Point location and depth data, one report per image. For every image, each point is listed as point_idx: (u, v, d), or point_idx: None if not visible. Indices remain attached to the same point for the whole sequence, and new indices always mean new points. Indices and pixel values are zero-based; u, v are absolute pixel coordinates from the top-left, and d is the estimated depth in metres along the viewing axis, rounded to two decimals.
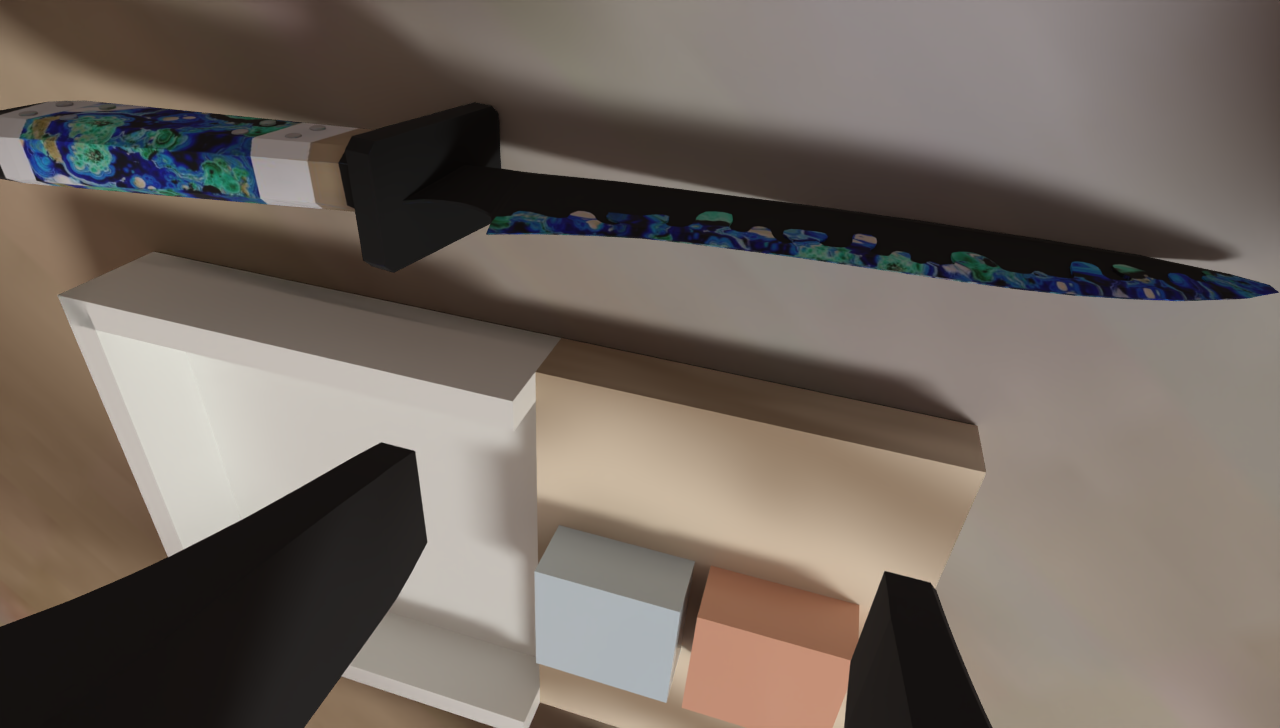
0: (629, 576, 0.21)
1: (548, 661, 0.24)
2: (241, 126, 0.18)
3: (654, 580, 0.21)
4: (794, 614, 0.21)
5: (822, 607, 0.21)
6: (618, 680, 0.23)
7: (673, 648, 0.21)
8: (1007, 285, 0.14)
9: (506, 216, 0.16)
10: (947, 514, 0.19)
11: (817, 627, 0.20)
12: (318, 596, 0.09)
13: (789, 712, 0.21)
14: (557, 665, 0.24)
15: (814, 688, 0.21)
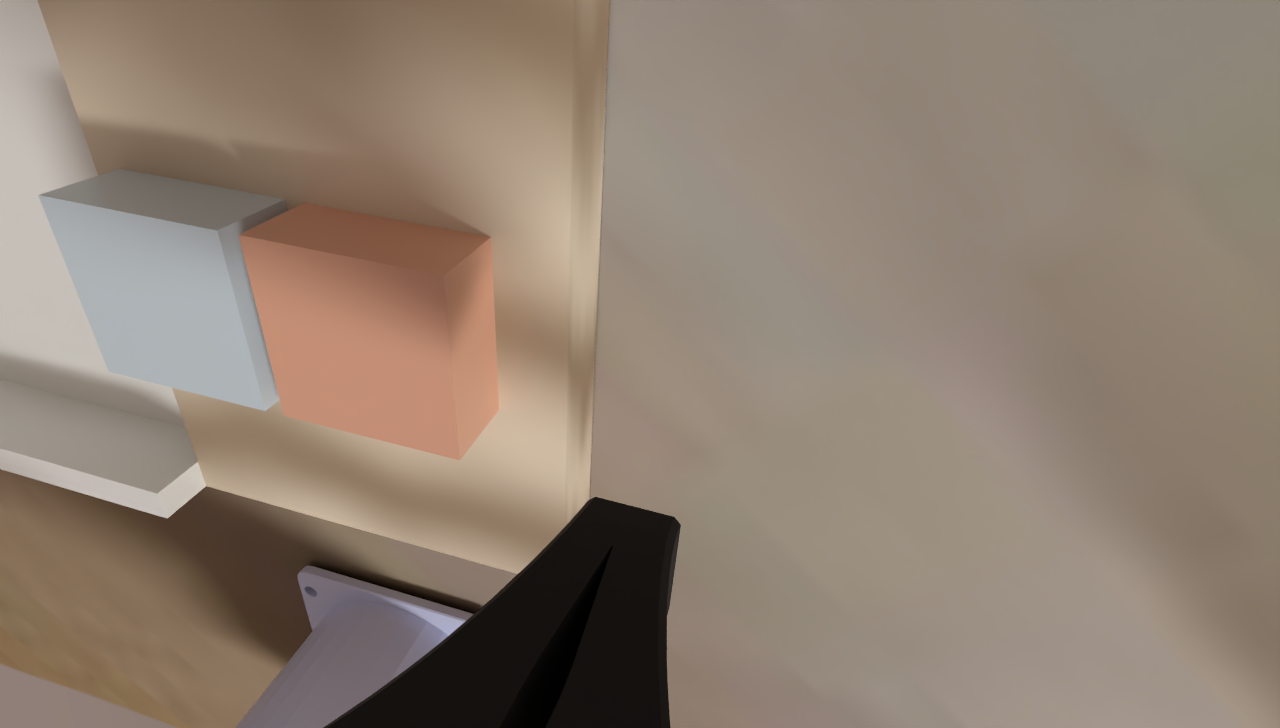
0: (174, 204, 0.15)
1: (119, 365, 0.17)
2: None
3: (207, 208, 0.15)
4: (387, 239, 0.14)
5: (433, 236, 0.15)
6: (202, 382, 0.17)
7: (235, 304, 0.15)
8: None
9: None
10: (549, 27, 0.12)
11: (410, 249, 0.14)
12: (567, 673, 0.09)
13: (399, 395, 0.15)
14: (130, 370, 0.17)
15: (412, 343, 0.14)
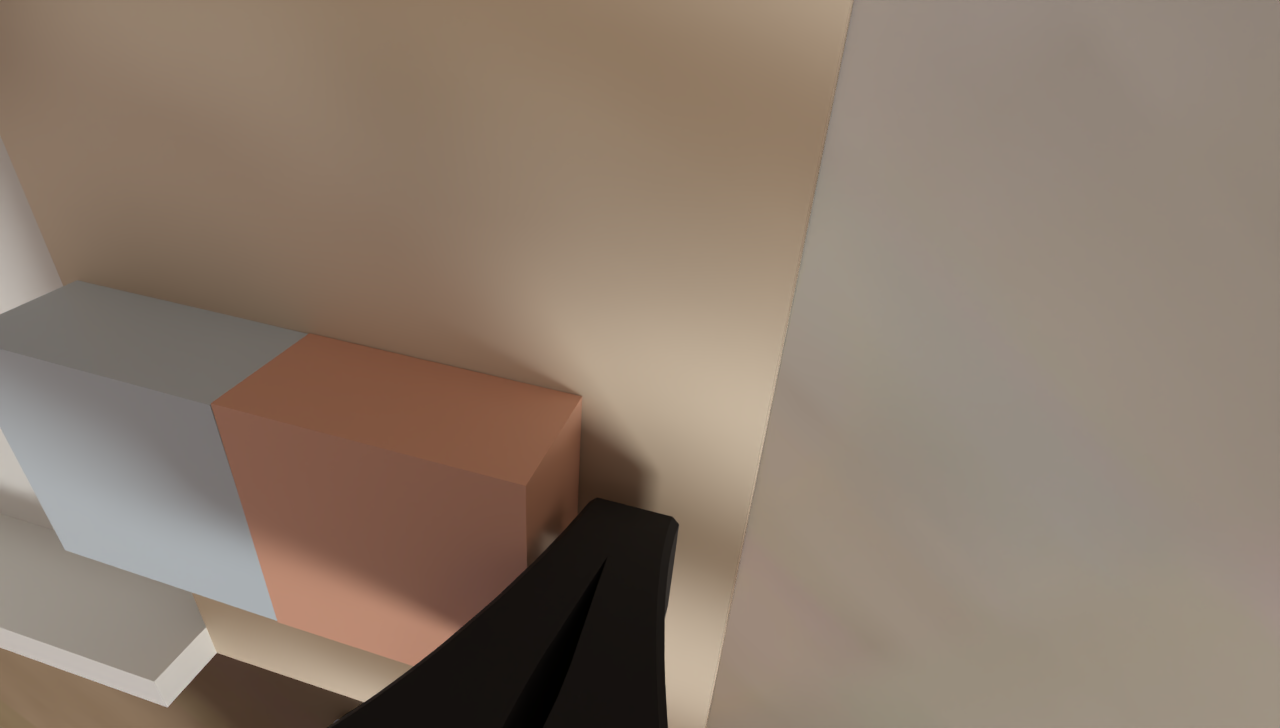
0: (150, 349, 0.10)
1: (79, 545, 0.13)
2: None
3: (197, 357, 0.10)
4: (432, 404, 0.10)
5: (499, 397, 0.10)
6: (190, 578, 0.12)
7: (237, 497, 0.10)
8: None
9: None
10: (782, 120, 0.08)
11: (469, 426, 0.09)
12: None
13: (445, 620, 0.10)
14: (93, 552, 0.13)
15: (469, 563, 0.10)
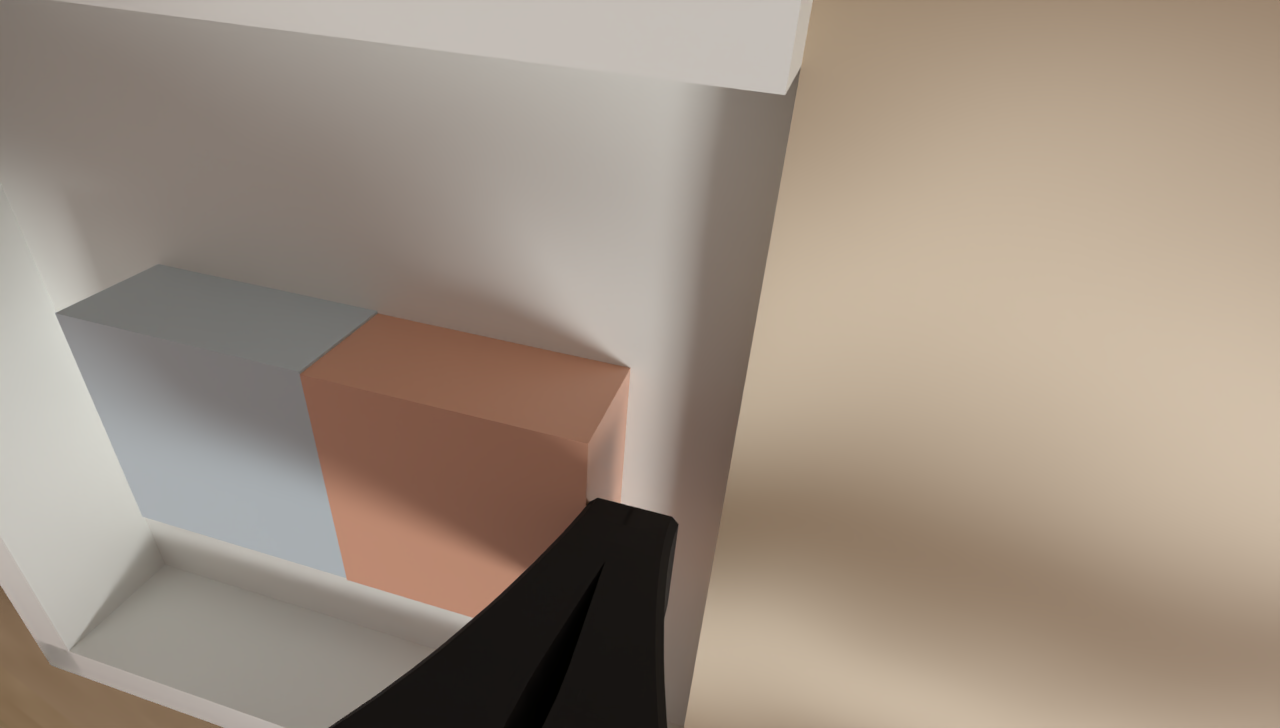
0: (235, 324, 0.11)
1: (157, 511, 0.14)
2: None
3: (279, 331, 0.11)
4: (497, 375, 0.11)
5: (556, 368, 0.11)
6: (264, 539, 0.13)
7: (317, 459, 0.11)
8: None
9: None
10: None
11: (532, 394, 0.10)
12: None
13: (506, 573, 0.12)
14: (171, 517, 0.14)
15: (531, 517, 0.11)
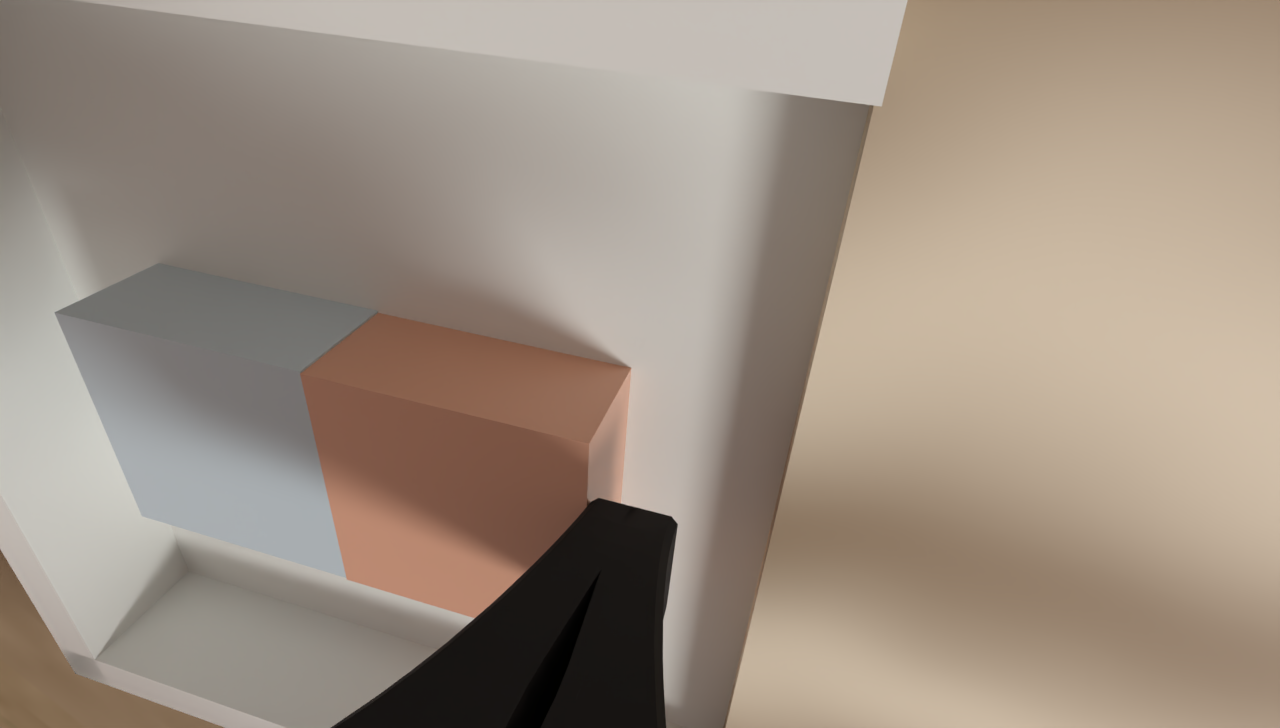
0: (236, 324, 0.11)
1: (156, 511, 0.14)
2: None
3: (280, 330, 0.11)
4: (497, 375, 0.11)
5: (557, 369, 0.11)
6: (264, 539, 0.13)
7: (317, 458, 0.11)
8: None
9: None
10: None
11: (533, 393, 0.10)
12: None
13: (507, 573, 0.12)
14: (171, 517, 0.14)
15: (532, 516, 0.11)
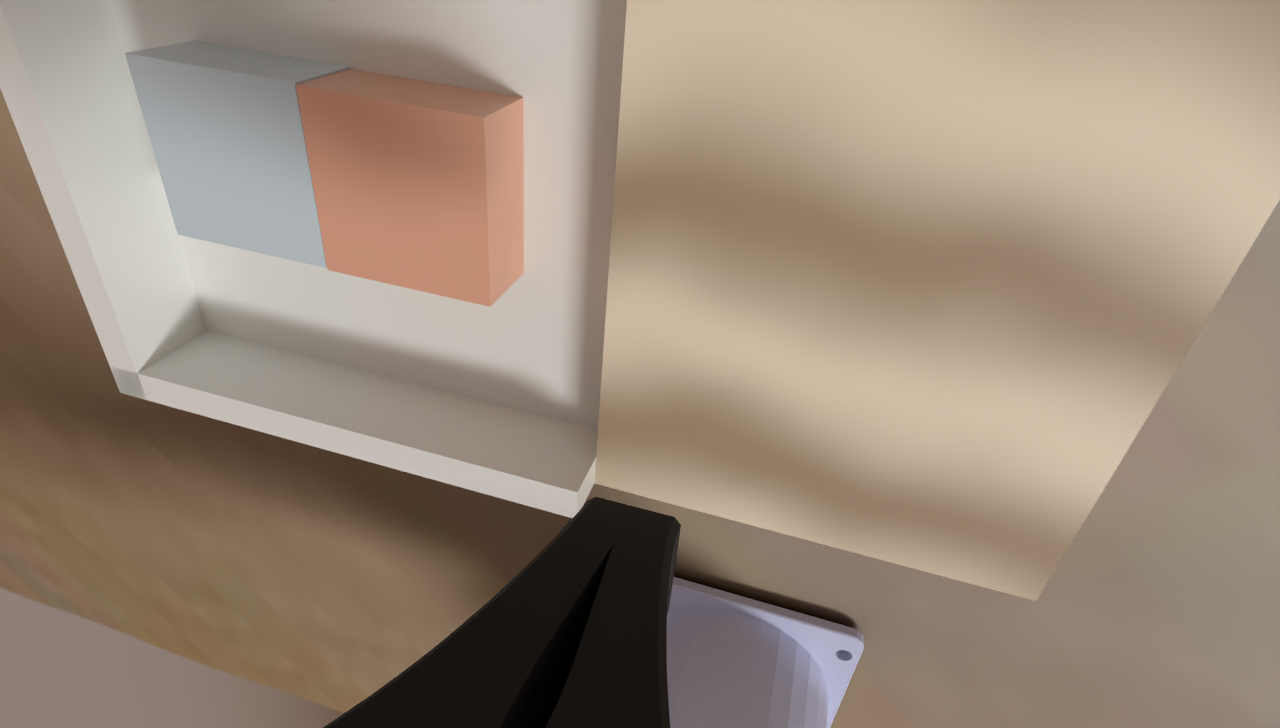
0: (250, 64, 0.17)
1: (188, 227, 0.19)
2: None
3: (281, 68, 0.16)
4: (430, 93, 0.16)
5: (471, 94, 0.16)
6: (267, 240, 0.18)
7: (306, 158, 0.17)
8: None
9: None
10: None
11: (452, 100, 0.16)
12: (567, 673, 0.09)
13: (437, 242, 0.17)
14: (199, 232, 0.19)
15: (451, 187, 0.16)
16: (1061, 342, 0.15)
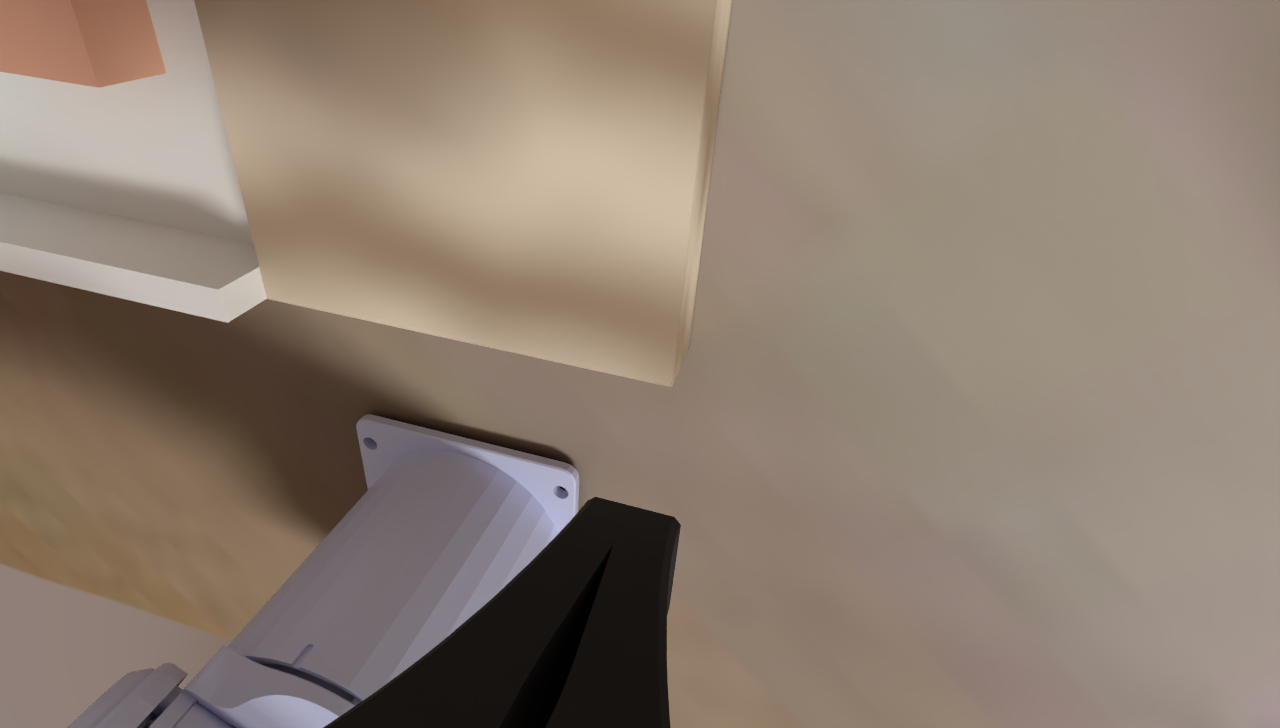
0: None
1: None
2: None
3: None
4: None
5: None
6: None
7: None
8: None
9: None
10: None
11: None
12: (567, 673, 0.09)
13: (33, 17, 0.17)
14: None
15: None
16: (600, 72, 0.15)
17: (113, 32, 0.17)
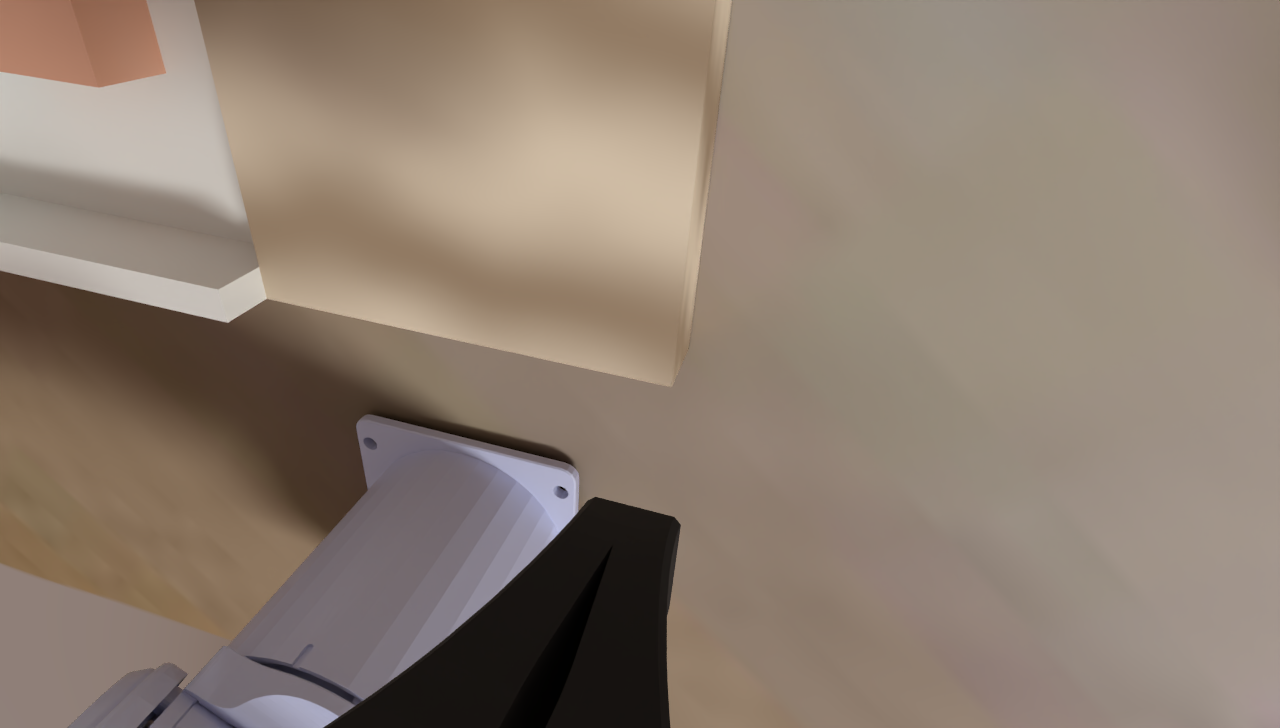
0: None
1: None
2: None
3: None
4: None
5: None
6: None
7: None
8: None
9: None
10: None
11: None
12: (567, 673, 0.09)
13: (33, 17, 0.17)
14: None
15: None
16: (600, 72, 0.15)
17: (113, 32, 0.17)
